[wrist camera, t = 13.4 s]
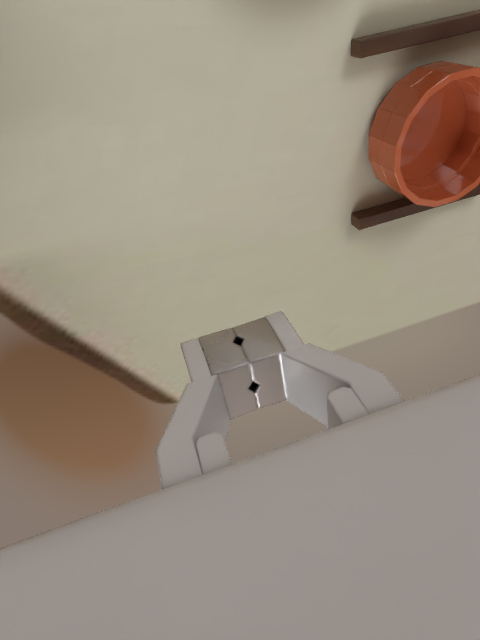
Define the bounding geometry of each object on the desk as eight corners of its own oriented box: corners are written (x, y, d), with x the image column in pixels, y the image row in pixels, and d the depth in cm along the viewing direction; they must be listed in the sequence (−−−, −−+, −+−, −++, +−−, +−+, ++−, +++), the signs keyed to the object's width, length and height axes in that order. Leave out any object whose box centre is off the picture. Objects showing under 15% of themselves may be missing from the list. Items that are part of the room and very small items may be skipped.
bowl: (365, 78, 38) (398, 87, 34) (481, 48, 39) (525, 54, 35) (364, 201, 45) (391, 220, 41) (462, 172, 46) (498, 188, 42)
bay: (350, 39, 36) (360, 40, 34) (514, 1, 38) (529, 1, 36) (351, 224, 46) (358, 230, 45) (480, 186, 48) (490, 191, 47)
